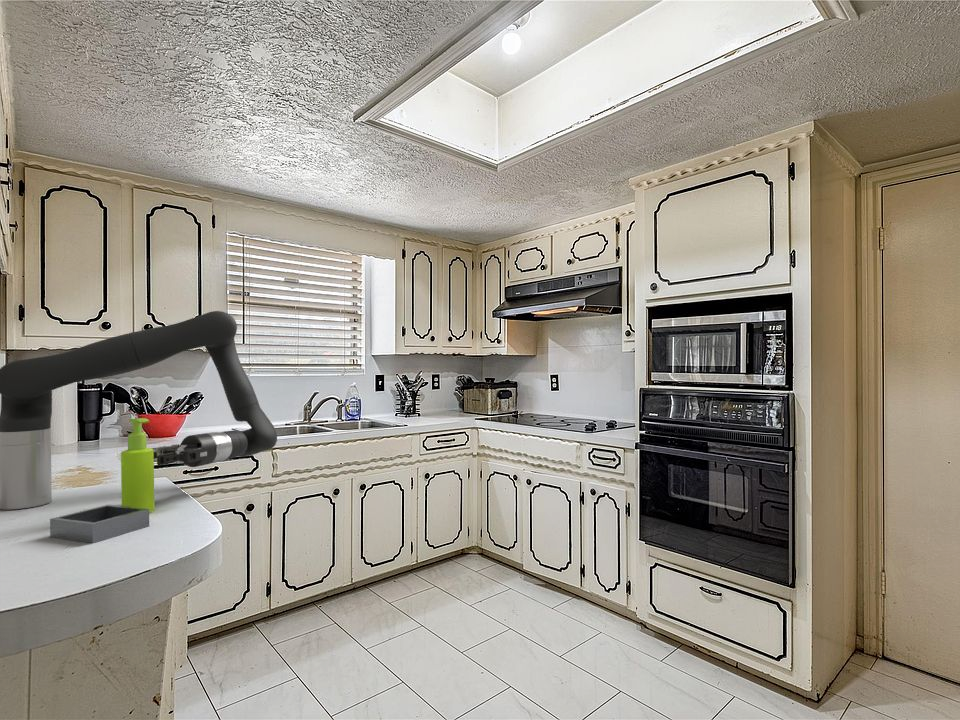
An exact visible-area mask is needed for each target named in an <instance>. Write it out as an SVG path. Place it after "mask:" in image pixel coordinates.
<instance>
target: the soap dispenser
mask: <svg viewBox="0 0 960 720" xmlns="http://www.w3.org/2000/svg"><path fill="white" fill-rule="evenodd" d="M129 423H132V426H131V427H132V428H131V430H132V432H130V434H129V433H128V434H127V449H126V450H122V451H121V452H120V469H121V471H120V472H121V473H120V475H121V479H120V481H121V506H126V507H135V508H145V509H149V514H150V513H153V512H155V465H154V464H155V463H154V462H155V461H154V450H153V449H150V448H149V447H148V445H147V441H148V439H147V433H146V432H145V431H143V430H142V429H143V424H148V423H150V420H149V419H147V418H145V417H141V418H140V417H139V418H130V419H129Z"/></svg>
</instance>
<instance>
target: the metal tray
mask: <svg viewBox="0 0 960 720" xmlns="http://www.w3.org/2000/svg"><path fill="white" fill-rule="evenodd" d="M148 527H150V513H149V509H145V508H135V507H126V506H122V505H114V504H106V505H102V506H98V507H94V508H90V509H86V510H85V509H84V510H82V511H78V512H77V511H76V512H73V513H68V514H66V515H60V516H57V517H52V518H50V519H49V538H54V539H60V540H69V541H76V542H83V543H89V544H95V543H98V542H101V541H104V540H108V539H111V538H114V537H119V536H120V535H124V534H128V533H130V532H134V531H138V530H141V529H144V528H148Z"/></svg>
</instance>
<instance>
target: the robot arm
mask: <svg viewBox="0 0 960 720" xmlns="http://www.w3.org/2000/svg"><path fill="white" fill-rule="evenodd" d="M237 331H238V325H237V321H236V319H235V318H234V317H233V315H231V314H229V313H228V312H225V311H222V310H213V311H208V312H206V313H203V314H201V315H198V316H195V317H192V318H190V319H186V320H183V321H180V322H176V323H173V324H169V325H164V326H158V327H152V328H148V329H147V328H146V329H142V330H138V331H133V332H129V333H124V334H120V335H115V336H112V337H109V338H105V339H102V340H98V341H94V342H92V343H89V344H86V345H83V346H80V347H78V348H75V349H72V350H68V351H65V352H60V353H56V354H50V355H46V356H40V357H31V358H26V359H17V360H12V361H9V362H7V363H6V364H4V365H3V366H1V367H0V396H1V397H0V399H1V401H0V406H1V407H0V510H8V511H9V510H19V509H21V510H22V509H27V508H28V509H29V508H35V507H38V506H44V505H47V504H49V503H51V502H52V501H53V495H52V494H53V493H52V491H53V490H52V441H51V439H52V437H51V433H52V432H51V430H52V429H51V428H52V426H51V425H52V424H51V421H52V415H53V391H54V390H56V389H60V388H62V387H65V386H69V385H72V384H74V383H75V384H76V383H78V382H79V383H80V382H85V381H89V380H95V379H104V378H108V377H112V376H118V375H121V374H122V375H123V374H127V373H131V372H134V371H139V370H141V369H144V368H148V367H151V366H153V365H156V364H158V363H160V362H162V361H165V360H167V359H169V358H172V357H173V356H175V355H177V354H180V353H183V352H186V351H190V350H194V349H198V348H203V347H204V348H205V350H206V351H207V353H208V355H209V356H210V357H211V361H213V364H214V366H215V368H216V371H217V373H218V376H219V379H220V382H221V384H222V388H223V391H224V393H225V397H226V398H227V402H228V405H229V407H230V411H231V413H232V416H233V418H234V420H235V421H237V422H246V423H247V424H248V425H249V426H250V428H249V429H245V430H241V431H240V430H227V431H226V430H225V431H213V432H212V431H211V432H204V433H197V434H190V435H188V436H186V437H184V438H183V439H182V441H181V442H180V444H178V443H176V444H174V443H173V444H171V445H167V446H166V445H163V446H157V447H151V448H150V449H153V450H154V462H156V464H157V466H166V465H171V464H177V465H178V464H184V465H186V466H187V467H190V468H196V467H202V466H206V465H210V464H217V463H220V462H222V461H224V460H230V459H234V458H241V457H243V458H244V457H249V456H254V455H257V454H259V453H263V452H265V451H268V450H272V449H273V448H274V447H276V445H277V442H278V433H277V430H276V427H275V425H273V423H272V422H271V420H270V419H269V417H268V416H267V415H266V413H265V412H264V411H263V410H262V408H261V406H260V404H259V400H258V398H257V394H256V391H255V389H254V387H253V385H252V383H251V381H250V379H249V377H248V375H247V373H246V371H245V369H244V367H243V365H242V364H241V361H240V358H239V355H238V352H237V348H236V341H235V337H236V334H237Z"/></svg>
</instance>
